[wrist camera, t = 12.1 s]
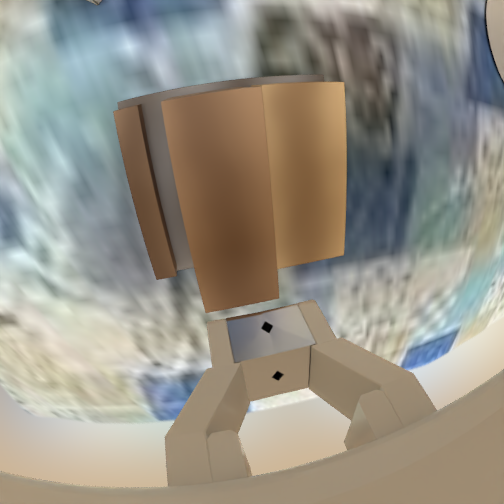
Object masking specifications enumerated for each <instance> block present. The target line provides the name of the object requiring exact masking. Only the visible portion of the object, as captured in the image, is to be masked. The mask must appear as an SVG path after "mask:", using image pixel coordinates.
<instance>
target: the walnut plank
mask: <svg viewBox="0 0 504 504" xmlns="http://www.w3.org/2000/svg"><path fill="white" fill-rule="evenodd" d="M161 106H162V112H163V118H164V124H165V130H166V136H167V141H168V147H169V152H170V157H171V163H172V168H173V173H174V178H175V183H176V188H177V193H178V198H179V202H180V207H181V212H182V216H183V221H184V226H185V230H186V234H187V239H188V243H189V247H190V252H191V256H192V260H193V264H194V268H195V273H196V277H197V281H198V285H199V289H200V292H201V296H202V300H203V304H204V308H205V312H206V313H209V312H214V311H219V310H224V309H229V308H234V307H239V306H244V305H249V304H254V303H259V302H264V301H269V300H273V299H278V298H279V287H278V272H277V258H276V244H275V231H274V218H273V206H272V194H271V182H270V171H269V159H268V148H267V138H266V127H265V117H264V107H263V97H262V88H261V87H235V88H227V89H220V90H213V91H206V92H200V93H194V94H188V95H182V96H177V97H172V98H168V99H166V100H164V101H162V102H161Z"/></svg>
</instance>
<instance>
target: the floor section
mask: <svg viewBox="0 0 504 504" xmlns="http://www.w3.org/2000/svg"><path fill="white" fill-rule="evenodd" d="M235 87H261V88H262V97H263V107H264V117H265V127H266V138H267V148H268V159H269V171H270V182H271V194H272V206H273V218H274V231H275V244H276V258H277V269H280V268H285V267H290V266H295V265H299V264H304V263H309V262H314V261H319V260H323V259H328V258H333V257H338V256H342V255H344V243H345V222H346V185H347V145H346V109H345V89H344V82H324V77H323V75H288V76H271V77H258V78H247V79H238V80H229V81H221V82H214V83H207V84H201V85H195V86H189V87H183V88H178V89H172V90H167V91H163V92H158V93H153V94H149V95H145V96H140V97H136V98H132V99H128V100H124V101H121V102H117V103H118V109H119V110H116V111H113V113H114V118H115V123H116V128H117V133H118V138H119V143H120V148H121V152H122V157H123V161H124V165H125V170H126V174H127V178H128V182H129V186H130V190H131V194H132V198H133V202H134V205H135V209H136V213H137V217H138V220H139V224H140V227H141V231H142V234H143V238H144V241H145V244H146V248H147V251H148V254H149V257H150V261H151V264H152V267H153V270H154V273H155V276H156V279H157V280H158V279H164V278H169V277H174V276H177V270H183V269H188V268H193V267H194V264H193V260H192V256H191V252H190V247H189V243H188V239H187V234H186V230H185V226H184V221H183V216H182V212H181V207H180V202H179V198H178V193H177V188H176V183H175V178H174V173H173V168H172V163H171V157H170V152H169V147H168V141H167V136H166V130H165V124H164V118H163V112H162V106H161V102H162V101H164V100H166V99H168V98H172V97H177V96H182V95H188V94H194V93H200V92H206V91H213V90H220V89H227V88H235Z"/></svg>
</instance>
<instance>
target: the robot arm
mask: <svg viewBox="0 0 504 504" xmlns="http://www.w3.org/2000/svg"><path fill="white" fill-rule="evenodd" d="M486 19H487V29H488V36H489V41H490V45H491V49H492V53H493V56H494V60H495V62H496V65H497V68H498V70H499V73H500V75H501V77H502V79H503V81H504V0H488V1H487V8H486ZM226 322H227V323H226ZM207 330H208V338H209V346H210V353H211V361H212V368H208V369H206V371H205V373H204V374H203V376H202V378H201V379H200V381H199V383H198V384H197V386H196V388H195V389H194V391H193V392H192V394H191V396H190V397H189V399H188V401H187V402H186V404H185V405H184V407H183V409H182V410H181V412H180V414H179V415H178V417H177V418H176V420H175V422H174V423H173V425H172V426H171V428H170V430H169V431H168V433H167V434H166V436H165V448H166V449H165V450H166V467H167V481H168V487H149V488H148V487H146V488H123V487H120V488H119V487H98V486H86V485H75V484H66V483H59V482H52V481H45V480H39V479H34V478H29V477H24V476H19V475H15V474H10V473H6V472H2V471H0V504H504V369H503V370H502V371H501V372H499V373H498V374H496V375H495V376H493V377H492V378H491V379H489V380H488V381H486V382H485V383H483V384H482V385H480V386H478V387H477V388H475V389H474V390H472V391H471V392H469V393H467V394H466V395H464V396H463V397H461V398H459V399H458V400H456V401H454V402H452V403H450V404H449V405H447V406H445V407H443V408H442V409H440V410H438V411H437V410H436V408H435V407H434V405H433V403H432V402H431V400H430V398H429V397H428V395H427V394H426V392H425V391H424V389H423V388H422V386H421V385H420V383H419V381H418V380H417V379H416V377H415V375H414V374H413V373H412V372H409V371H407V370H405V369H403V368H401V367H399V366H397V365H395V364H393V363H391V362H389V361H387V360H385V359H383V358H381V357H379V356H377V355H375V354H373V353H371V352H369V351H367V350H365V349H363V348H361V347H359V346H357V345H355V344H353V343H352V342H350V341H348V340H346V339H344V338H338V339H337V338H336V337H335V335H334V333H333V331H332V329H331V328H330V326H329V324H328V322H327V321H326V319H325V317H324V315H323V313H322V312H321V310H320V308H319V306H318V305H317V303H316V301H315V300H313V299H312V300H308V301H304V302H300V303H296V304H293V305H289V306H284V307H280V308H276V309H271V310H267V311H262V312H258V313H252V314H247V315H241V316H236V317H230V318H226V319H221V320H215V321H208V322H207ZM308 387H309V389H310V390H311V391H313V392H314V393H315V394H316V395H318V396H319V397H320V398H322V399H323V400H324V401H326V402H327V403H328V404H330V405H331V406H332V407H334V408H335V409H337V410H338V411H339V412H341V413H342V414H343V415H345V416H346V417H347V418H349V419H350V420H351V424H350V427H349V430H348V433H347V435H346V438H345V440H344V443H345V446H346V448H347V451H345V452H342V453H339V454H336V455H333V456H330V457H327V458H323V459H320V460H317V461H313V462H310V463H306V464H303V465H299V466H296V467H292V468H288V469H284V470H279V471H276V472H271V473H266V474H261V475H256V476H252V473H251V469H250V466H249V463H248V460H247V458H246V455H245V452H244V450H243V447H242V444H241V442H240V438H239V436H238V432H239V430H240V427H241V425H242V422H243V420H244V417H245V415H246V412H247V410H248V407H249V405H250V401H254V400H259V399H263V398H267V397H271V396H274V395H278V394H283V393H287V392H292V391H296V390H300V389H304V388H308Z"/></svg>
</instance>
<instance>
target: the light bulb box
mask: <svg viewBox="0 0 504 504" xmlns="http://www.w3.org/2000/svg"><path fill="white" fill-rule="evenodd" d="M87 1H89V2H91V3H94V4H96V5H99V3H100V2H101V1H102V0H87Z"/></svg>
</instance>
